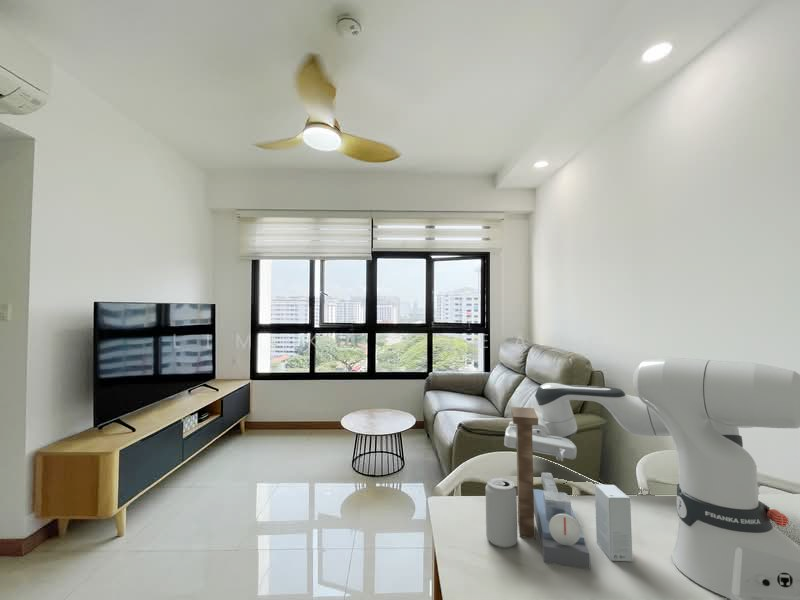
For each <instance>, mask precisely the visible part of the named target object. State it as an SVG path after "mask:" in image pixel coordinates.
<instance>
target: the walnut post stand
mask: <svg viewBox="0 0 800 600" xmlns="http://www.w3.org/2000/svg"><path fill="white" fill-rule="evenodd" d="M510 408H511V417H512V418H511V419H512V421H513V424H516V440H517V449H516V477H517V478H516V480H517V481H516V485H517V488H516V492H517V526H518V534H519V537H521V538H529V539H535V515H534V490H533V489H534V452H533V443H532V425H538V417H537V415H536V412H535V410H536V409H535V408H534V407H524V406H523V407H522V406H521V407H520V406H511V407H510Z"/></svg>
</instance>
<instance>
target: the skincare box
mask: <svg viewBox="0 0 800 600" xmlns="http://www.w3.org/2000/svg"><path fill="white" fill-rule="evenodd" d="M594 491H595V493H594V496H595V497H594V498H595V502H594V503H595V529H596V530H595V533H596V543H597V545H598V546H599V547H600V549H602V551H603V552H604V554H605V555H606V556H607V557H608V558H609V560H610V561H614V562H633V537H632V536H633V535H632V534H633V533H632V513H631V510H632V509H631V498H630V497H629V495H628V494H626V493H624V492H623V491H622V490H621V489H620V488H619V487H617V485H615V484H602V483H601V484H600V483H599V484H597V483H596V484H594Z"/></svg>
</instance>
